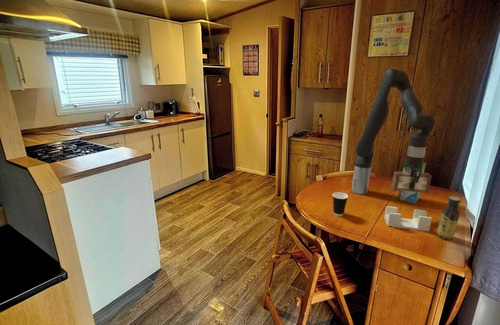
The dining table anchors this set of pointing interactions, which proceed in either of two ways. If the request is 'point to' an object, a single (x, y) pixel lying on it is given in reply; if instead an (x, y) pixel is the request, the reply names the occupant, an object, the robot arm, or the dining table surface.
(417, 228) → the white notched block
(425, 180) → the grey tapered panel
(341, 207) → the dixie cup
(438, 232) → the sauce bottle
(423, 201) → the dining table surface
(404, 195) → the milk carton
